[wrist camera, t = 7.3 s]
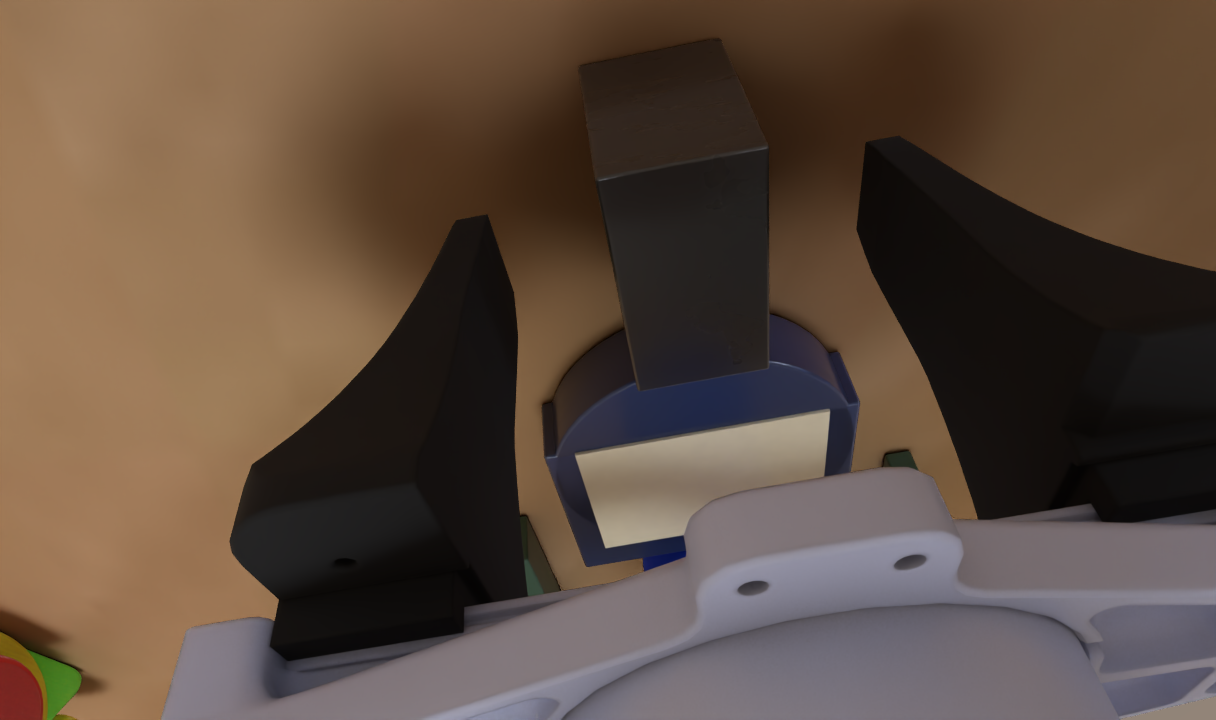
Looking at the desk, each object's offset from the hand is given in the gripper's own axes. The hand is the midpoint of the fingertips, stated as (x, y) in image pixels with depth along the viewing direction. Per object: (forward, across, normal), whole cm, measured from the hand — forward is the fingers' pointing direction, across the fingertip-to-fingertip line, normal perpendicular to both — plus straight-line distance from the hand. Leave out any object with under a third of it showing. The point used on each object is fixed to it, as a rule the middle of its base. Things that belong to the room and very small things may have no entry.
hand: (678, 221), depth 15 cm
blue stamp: (+1, 0, +5) cm, 5 cm away
